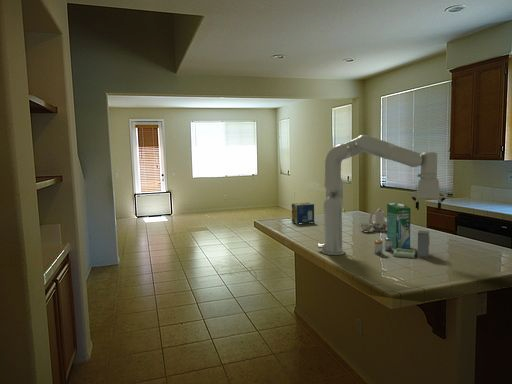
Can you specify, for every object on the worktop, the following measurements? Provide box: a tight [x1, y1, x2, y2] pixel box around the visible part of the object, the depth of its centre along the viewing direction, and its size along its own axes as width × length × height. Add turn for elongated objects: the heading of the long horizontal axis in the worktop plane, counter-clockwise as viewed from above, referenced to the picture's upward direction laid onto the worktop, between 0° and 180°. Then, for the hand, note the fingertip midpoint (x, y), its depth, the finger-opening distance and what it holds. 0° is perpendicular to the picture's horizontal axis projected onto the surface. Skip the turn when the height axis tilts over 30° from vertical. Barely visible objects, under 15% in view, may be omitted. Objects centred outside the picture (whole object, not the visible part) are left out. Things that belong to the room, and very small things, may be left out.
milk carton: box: [386, 201, 411, 250], centre depth 218 cm, size 9×9×25 cm
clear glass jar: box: [384, 236, 393, 252], centre depth 211 cm, size 4×4×7 cm
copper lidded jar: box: [374, 239, 384, 256], centre depth 204 cm, size 4×4×7 cm
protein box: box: [291, 202, 315, 225], centre depth 304 cm, size 10×15×16 cm
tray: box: [393, 248, 417, 259], centre depth 201 cm, size 10×10×2 cm
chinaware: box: [358, 207, 387, 232], centre depth 262 cm, size 28×17×17 cm, turn 76°
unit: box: [417, 230, 431, 259], centre depth 197 cm, size 5×7×13 cm
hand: (428, 210), depth 194 cm, fingers open, 9 cm apart
